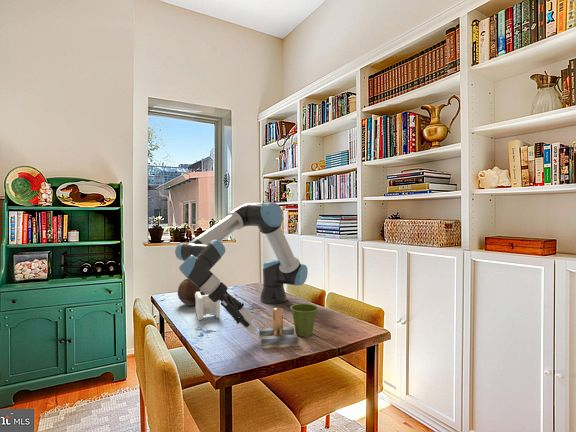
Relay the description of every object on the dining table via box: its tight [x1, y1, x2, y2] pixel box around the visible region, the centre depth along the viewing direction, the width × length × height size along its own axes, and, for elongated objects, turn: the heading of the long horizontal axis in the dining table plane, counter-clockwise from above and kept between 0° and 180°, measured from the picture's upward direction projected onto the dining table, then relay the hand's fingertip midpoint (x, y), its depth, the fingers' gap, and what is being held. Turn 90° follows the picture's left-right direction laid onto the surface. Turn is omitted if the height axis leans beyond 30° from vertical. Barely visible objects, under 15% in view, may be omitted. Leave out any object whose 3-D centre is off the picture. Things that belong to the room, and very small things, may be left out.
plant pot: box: [289, 303, 319, 338], centre depth 146 cm, size 12×12×11 cm
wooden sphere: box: [177, 277, 206, 306], centre depth 191 cm, size 15×15×15 cm
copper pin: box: [272, 306, 284, 336], centre depth 138 cm, size 4×4×12 cm
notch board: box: [258, 326, 299, 350], centre depth 138 cm, size 14×12×4 cm
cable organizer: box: [195, 292, 221, 321], centre depth 171 cm, size 15×11×12 cm
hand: (253, 325), depth 136 cm, fingers open, 13 cm apart
